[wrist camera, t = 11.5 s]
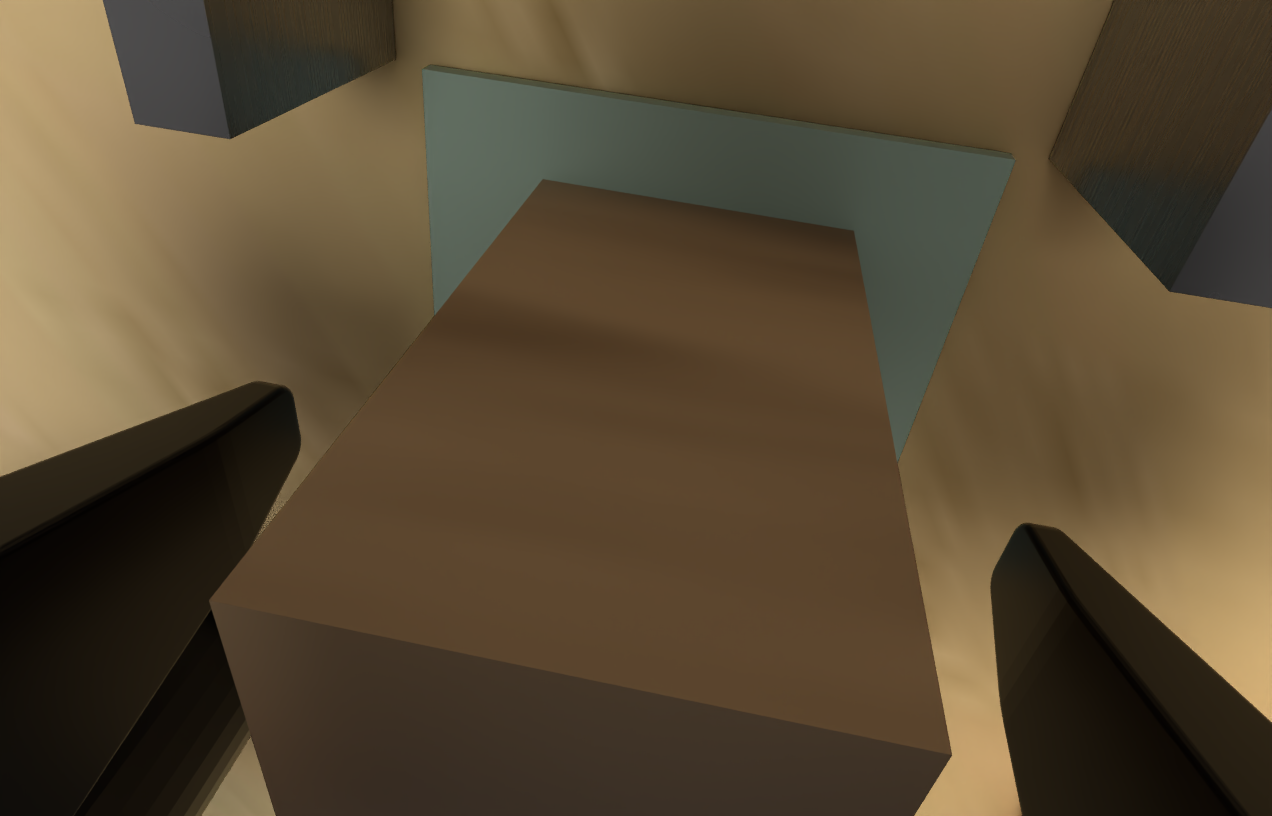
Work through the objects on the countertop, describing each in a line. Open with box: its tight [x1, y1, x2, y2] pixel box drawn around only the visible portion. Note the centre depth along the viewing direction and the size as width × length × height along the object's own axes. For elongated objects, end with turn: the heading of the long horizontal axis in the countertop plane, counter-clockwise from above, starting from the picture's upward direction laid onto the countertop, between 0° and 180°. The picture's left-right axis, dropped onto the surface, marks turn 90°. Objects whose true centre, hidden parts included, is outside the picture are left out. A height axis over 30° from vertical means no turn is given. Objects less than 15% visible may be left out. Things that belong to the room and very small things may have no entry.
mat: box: [422, 65, 1016, 463], centre depth 13 cm, size 7×8×1 cm
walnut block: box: [209, 179, 952, 816], centre depth 9 cm, size 4×4×8 cm
